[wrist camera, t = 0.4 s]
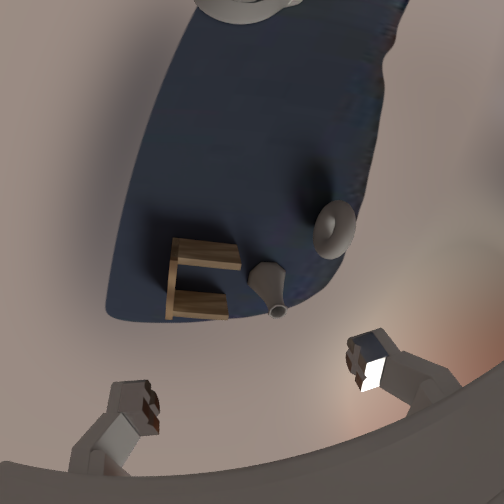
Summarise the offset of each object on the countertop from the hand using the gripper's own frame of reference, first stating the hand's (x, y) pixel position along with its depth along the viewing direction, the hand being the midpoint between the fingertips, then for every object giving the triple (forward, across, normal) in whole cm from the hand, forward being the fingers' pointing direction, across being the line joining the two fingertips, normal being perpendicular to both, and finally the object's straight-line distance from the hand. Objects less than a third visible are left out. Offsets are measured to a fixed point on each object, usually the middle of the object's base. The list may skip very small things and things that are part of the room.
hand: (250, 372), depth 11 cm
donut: (+40, -18, +11) cm, 45 cm away
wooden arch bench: (+41, +4, +18) cm, 45 cm away
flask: (+42, -7, +22) cm, 47 cm away
